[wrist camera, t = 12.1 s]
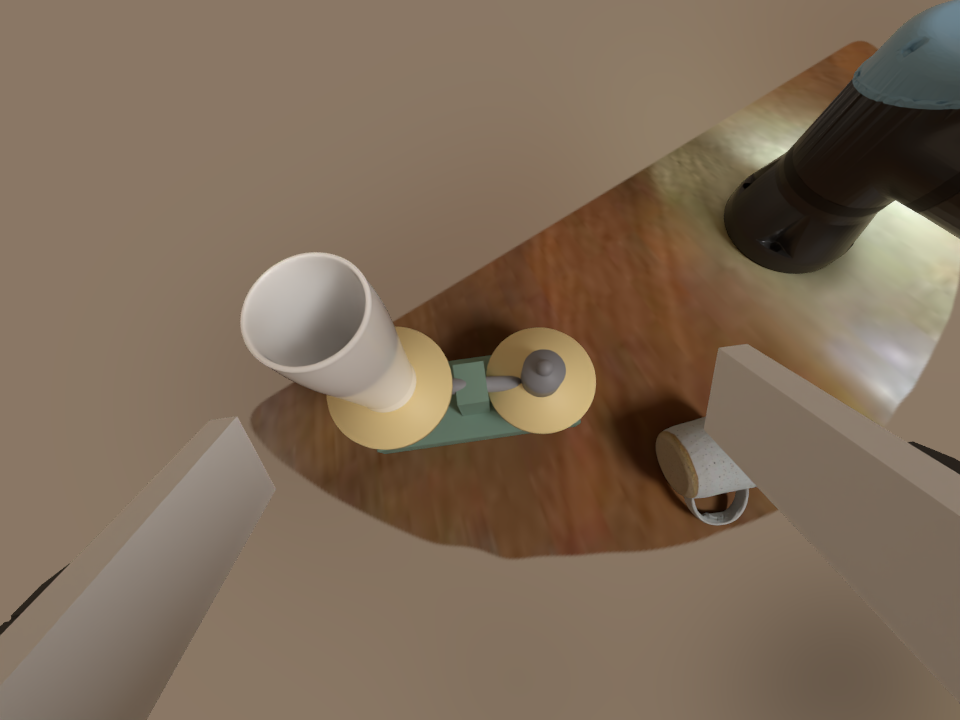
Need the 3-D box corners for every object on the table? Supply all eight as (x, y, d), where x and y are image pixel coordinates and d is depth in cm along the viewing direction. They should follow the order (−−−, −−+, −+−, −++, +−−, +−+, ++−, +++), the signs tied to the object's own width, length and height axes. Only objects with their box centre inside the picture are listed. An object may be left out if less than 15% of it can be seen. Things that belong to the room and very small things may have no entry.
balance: (569, 344, 46) (594, 297, 35) (590, 433, 43) (625, 415, 31) (368, 372, 46) (326, 335, 34) (372, 464, 43) (327, 458, 31)
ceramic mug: (642, 434, 43) (673, 426, 35) (709, 415, 43) (754, 402, 36) (681, 532, 40) (724, 546, 32) (753, 511, 40) (812, 519, 33)
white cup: (375, 335, 34) (289, 230, 20) (440, 366, 33) (397, 279, 19) (334, 401, 33) (208, 337, 18) (401, 436, 31) (322, 397, 17)
